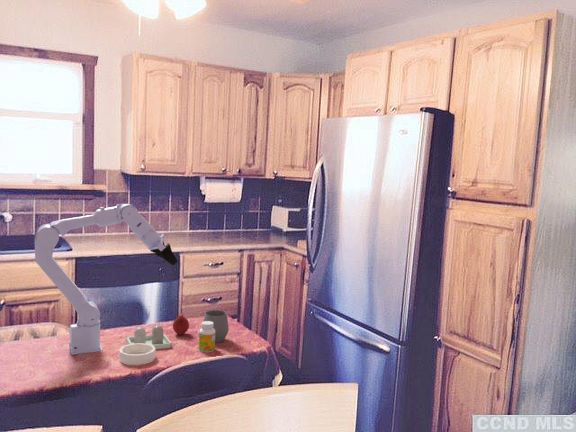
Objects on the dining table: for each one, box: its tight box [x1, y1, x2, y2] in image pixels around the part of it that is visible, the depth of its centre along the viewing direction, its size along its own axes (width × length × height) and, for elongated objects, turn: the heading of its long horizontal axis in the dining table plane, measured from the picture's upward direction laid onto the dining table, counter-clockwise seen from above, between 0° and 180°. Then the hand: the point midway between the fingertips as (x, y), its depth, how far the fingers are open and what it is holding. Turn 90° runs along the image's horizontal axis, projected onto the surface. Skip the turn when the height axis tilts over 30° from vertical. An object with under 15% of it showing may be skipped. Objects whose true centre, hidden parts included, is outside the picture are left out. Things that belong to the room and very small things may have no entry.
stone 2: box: [151, 324, 164, 345], centre depth 185 cm, size 4×4×6 cm
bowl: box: [118, 343, 157, 366], centre depth 171 cm, size 11×11×4 cm
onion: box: [172, 313, 190, 336], centre depth 196 cm, size 6×6×8 cm
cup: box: [202, 309, 230, 343], centre depth 192 cm, size 10×9×10 cm
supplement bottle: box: [198, 320, 216, 353], centre depth 182 cm, size 5×5×10 cm
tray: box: [125, 332, 173, 350], centre depth 184 cm, size 13×11×2 cm
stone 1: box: [133, 326, 147, 344], centre depth 183 cm, size 4×4×6 cm
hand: (172, 261), depth 187 cm, fingers open, 7 cm apart
